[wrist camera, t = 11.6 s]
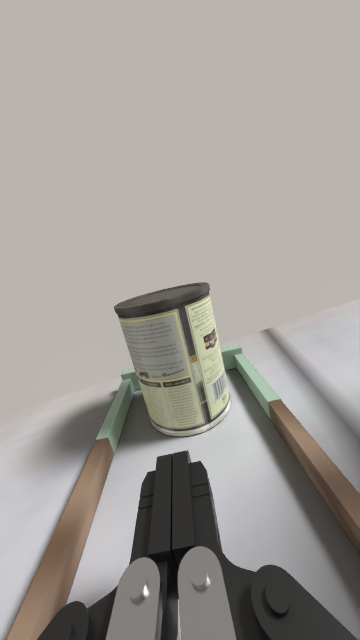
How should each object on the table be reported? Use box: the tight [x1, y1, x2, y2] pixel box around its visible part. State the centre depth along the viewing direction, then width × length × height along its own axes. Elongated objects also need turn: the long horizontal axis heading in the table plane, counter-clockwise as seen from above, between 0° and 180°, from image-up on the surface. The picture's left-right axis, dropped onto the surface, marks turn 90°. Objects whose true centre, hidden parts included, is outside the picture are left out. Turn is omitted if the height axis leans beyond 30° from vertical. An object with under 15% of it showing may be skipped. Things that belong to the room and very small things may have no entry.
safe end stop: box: [95, 345, 281, 454], centre depth 27 cm, size 13×18×3 cm
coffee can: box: [114, 283, 231, 436], centre depth 24 cm, size 10×10×14 cm
